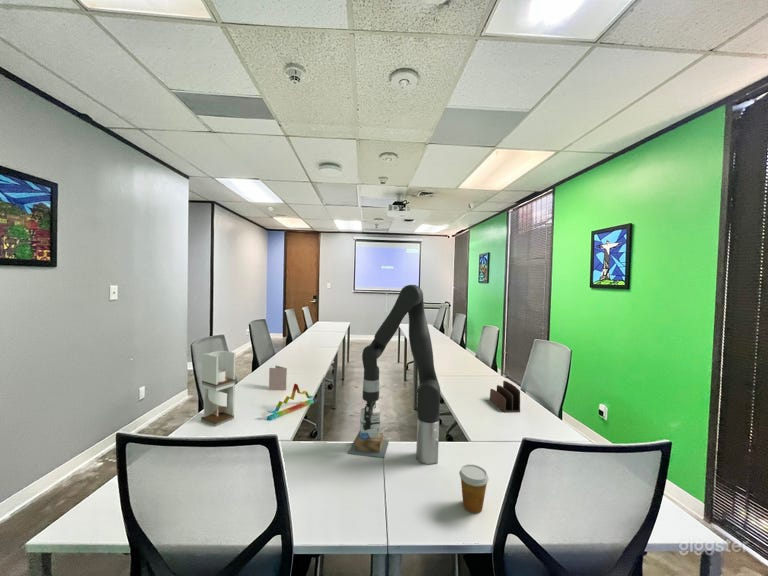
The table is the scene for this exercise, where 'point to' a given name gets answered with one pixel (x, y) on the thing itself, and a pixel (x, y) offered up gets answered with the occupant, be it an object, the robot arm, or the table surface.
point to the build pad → (371, 454)
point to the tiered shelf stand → (218, 387)
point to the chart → (292, 406)
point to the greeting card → (277, 378)
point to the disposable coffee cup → (473, 487)
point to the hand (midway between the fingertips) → (369, 424)
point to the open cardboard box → (369, 443)
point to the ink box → (375, 425)
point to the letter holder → (506, 397)
